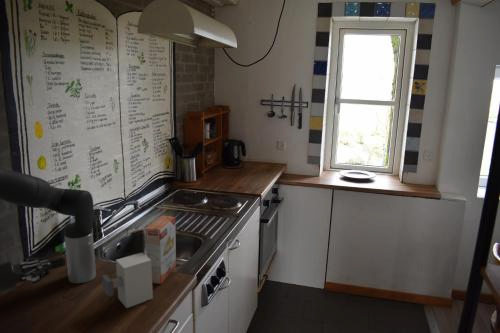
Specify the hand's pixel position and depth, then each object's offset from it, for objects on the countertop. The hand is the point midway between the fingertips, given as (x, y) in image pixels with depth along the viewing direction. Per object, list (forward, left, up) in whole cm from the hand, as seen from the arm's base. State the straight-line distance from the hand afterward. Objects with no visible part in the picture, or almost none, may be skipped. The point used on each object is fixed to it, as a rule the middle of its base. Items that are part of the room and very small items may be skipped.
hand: (64, 261), depth 110 cm
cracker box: (-9, +35, -20) cm, 41 cm away
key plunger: (0, +15, -14) cm, 21 cm away
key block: (0, +20, -20) cm, 29 cm away
